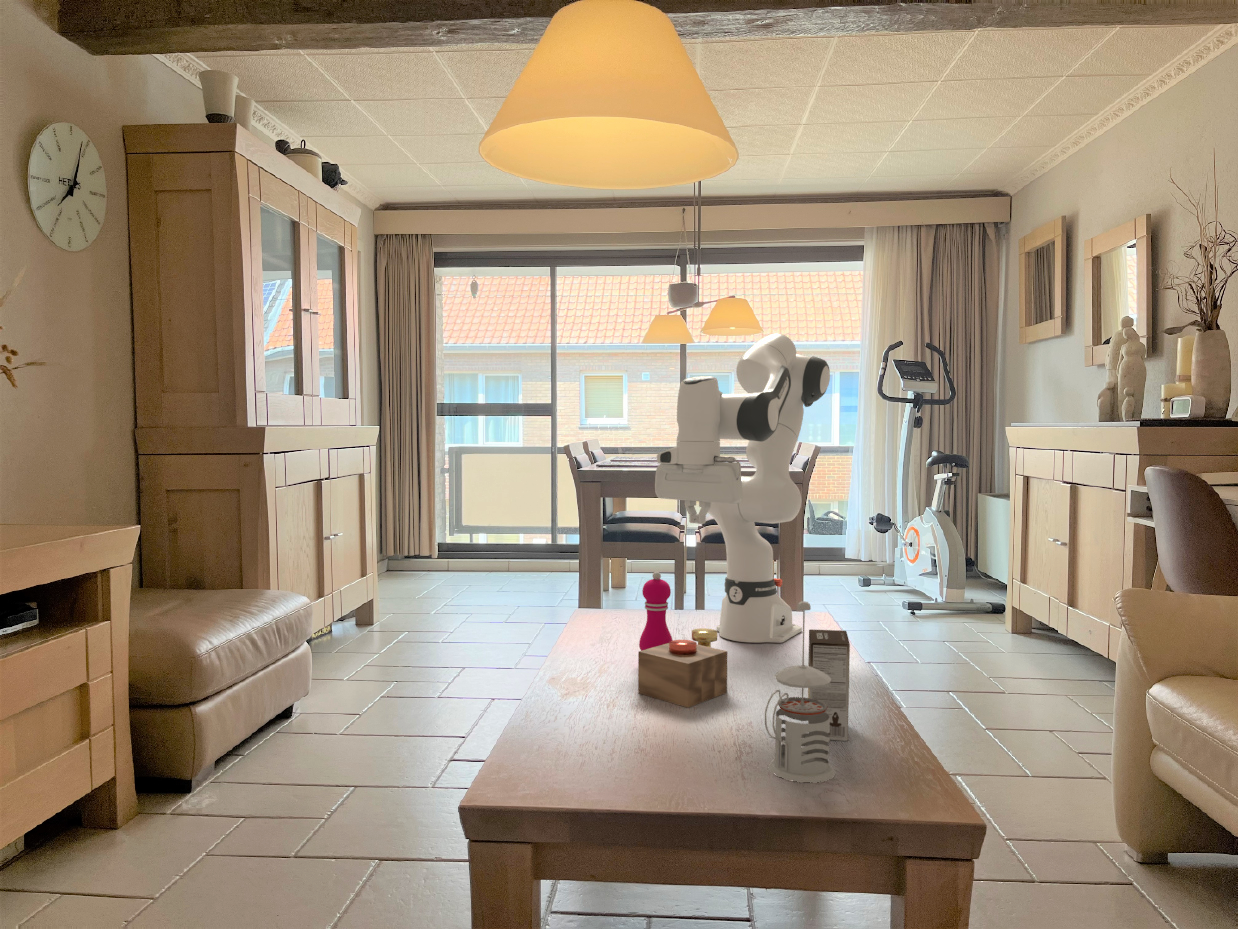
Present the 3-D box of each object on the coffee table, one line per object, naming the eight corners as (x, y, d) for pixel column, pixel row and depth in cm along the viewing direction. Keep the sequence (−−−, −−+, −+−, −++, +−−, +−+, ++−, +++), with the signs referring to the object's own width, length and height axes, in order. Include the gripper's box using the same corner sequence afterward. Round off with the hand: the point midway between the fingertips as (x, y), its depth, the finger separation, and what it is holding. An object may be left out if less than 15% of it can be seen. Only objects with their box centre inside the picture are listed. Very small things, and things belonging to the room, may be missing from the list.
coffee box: (806, 720, 145) (808, 628, 144) (844, 722, 144) (846, 630, 143) (808, 739, 136) (810, 641, 135) (849, 742, 134) (851, 643, 134)
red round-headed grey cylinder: (680, 684, 163) (680, 638, 163) (701, 690, 159) (702, 643, 159) (663, 690, 159) (663, 643, 159) (684, 696, 156) (685, 648, 155)
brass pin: (701, 670, 174) (702, 627, 174) (721, 675, 171) (722, 631, 171) (686, 675, 171) (686, 631, 170) (706, 680, 167) (707, 635, 167)
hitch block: (677, 679, 168) (678, 640, 167) (726, 692, 160) (727, 651, 159) (638, 693, 159) (638, 651, 159) (688, 707, 151) (688, 663, 150)
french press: (850, 773, 122) (853, 603, 121) (792, 792, 116) (795, 612, 115) (801, 752, 130) (803, 592, 129) (744, 767, 124) (747, 600, 123)
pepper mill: (673, 661, 181) (674, 569, 181) (672, 670, 174) (673, 575, 173) (640, 660, 182) (640, 568, 181) (637, 669, 175) (638, 574, 174)
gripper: (749, 456, 166) (748, 526, 166) (669, 454, 179) (669, 518, 180) (731, 457, 161) (730, 528, 161) (650, 454, 175) (650, 520, 175)
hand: (697, 523), depth 171 cm, fingers closed
